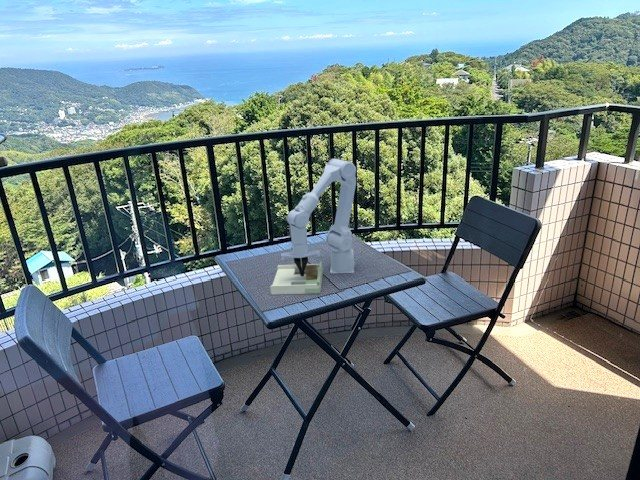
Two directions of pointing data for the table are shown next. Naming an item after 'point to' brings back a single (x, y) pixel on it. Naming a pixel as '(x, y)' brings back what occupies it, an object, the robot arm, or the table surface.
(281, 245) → the table surface
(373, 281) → the table surface
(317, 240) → the table surface
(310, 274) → the walnut block
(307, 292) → the board
